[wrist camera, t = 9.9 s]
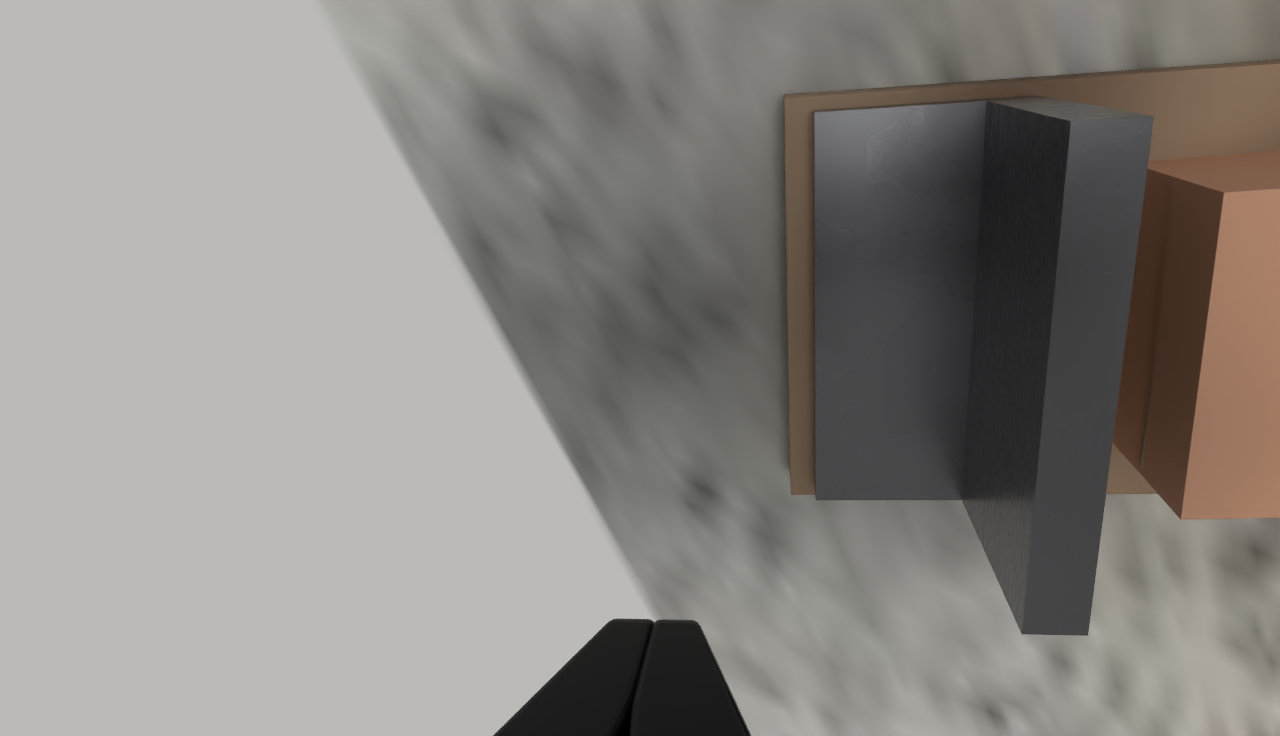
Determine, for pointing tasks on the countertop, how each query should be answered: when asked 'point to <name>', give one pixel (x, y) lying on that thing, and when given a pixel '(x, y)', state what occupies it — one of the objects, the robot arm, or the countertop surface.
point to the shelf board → (1177, 96)
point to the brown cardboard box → (1206, 338)
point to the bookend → (979, 322)
